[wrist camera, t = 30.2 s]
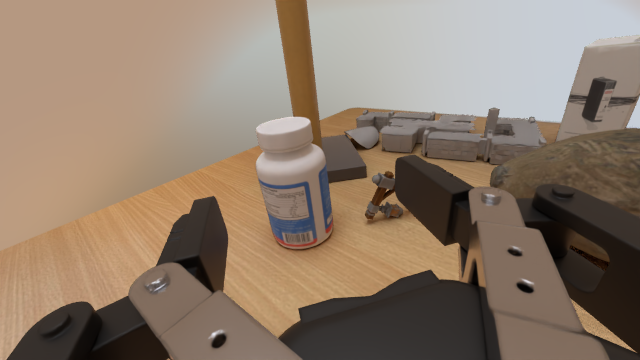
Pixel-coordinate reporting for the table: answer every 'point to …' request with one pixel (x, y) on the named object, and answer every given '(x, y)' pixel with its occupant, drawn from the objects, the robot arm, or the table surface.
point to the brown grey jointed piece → (383, 196)
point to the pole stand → (342, 159)
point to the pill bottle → (294, 183)
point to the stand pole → (299, 62)
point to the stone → (581, 172)
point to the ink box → (603, 88)
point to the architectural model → (449, 135)
